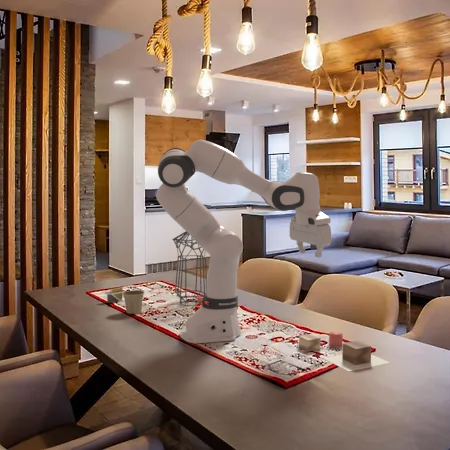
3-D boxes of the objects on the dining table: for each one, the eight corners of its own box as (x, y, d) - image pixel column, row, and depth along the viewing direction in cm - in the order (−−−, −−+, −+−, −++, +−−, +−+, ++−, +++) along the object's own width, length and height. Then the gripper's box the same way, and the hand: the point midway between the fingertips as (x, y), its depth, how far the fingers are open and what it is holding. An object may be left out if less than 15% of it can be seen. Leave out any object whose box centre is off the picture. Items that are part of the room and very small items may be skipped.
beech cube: (307, 355, 159) (308, 340, 159) (298, 350, 164) (299, 335, 163) (320, 352, 161) (320, 338, 161) (311, 348, 166) (311, 333, 165)
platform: (139, 301, 233) (139, 287, 233) (105, 307, 221) (104, 293, 220) (125, 297, 242) (125, 284, 241) (92, 303, 230) (92, 289, 229)
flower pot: (118, 313, 209) (117, 293, 208) (130, 308, 218) (130, 289, 217) (137, 316, 206) (136, 295, 205) (148, 310, 214) (148, 291, 214)
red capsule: (334, 350, 163) (334, 336, 163) (326, 347, 167) (326, 332, 167) (345, 349, 165) (345, 334, 165) (336, 345, 169) (336, 331, 168)
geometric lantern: (170, 301, 232) (171, 227, 230) (201, 299, 238) (202, 227, 236) (179, 308, 217) (181, 229, 215) (213, 306, 223) (214, 229, 221)
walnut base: (355, 365, 147) (355, 349, 146) (342, 358, 152) (342, 343, 152) (370, 362, 149) (371, 346, 149) (357, 355, 155) (357, 340, 154)
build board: (348, 375, 142) (348, 371, 142) (323, 362, 153) (323, 358, 153) (390, 366, 149) (390, 362, 149) (363, 354, 160) (363, 350, 160)
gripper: (284, 215, 183) (286, 251, 186) (319, 221, 165) (321, 261, 168) (298, 213, 186) (299, 249, 189) (333, 218, 168) (335, 258, 171)
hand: (310, 254), depth 178 cm, fingers open, 8 cm apart
